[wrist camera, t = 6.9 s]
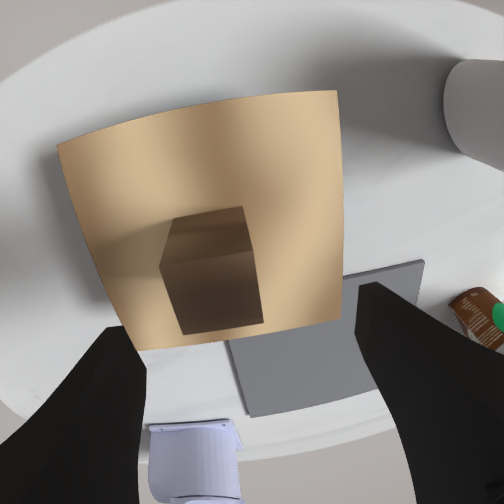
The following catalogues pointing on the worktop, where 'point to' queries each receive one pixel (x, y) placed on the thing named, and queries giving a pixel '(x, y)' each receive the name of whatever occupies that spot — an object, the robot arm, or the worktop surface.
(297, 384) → the mat
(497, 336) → the food container
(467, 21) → the worktop surface
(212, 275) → the lid
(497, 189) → the worktop surface
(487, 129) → the can
